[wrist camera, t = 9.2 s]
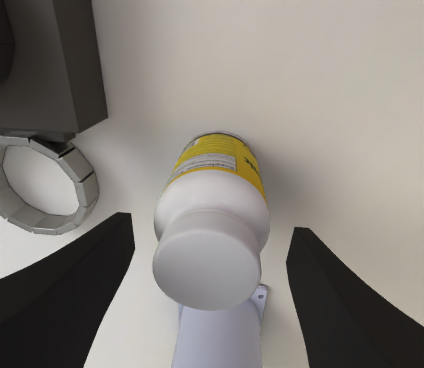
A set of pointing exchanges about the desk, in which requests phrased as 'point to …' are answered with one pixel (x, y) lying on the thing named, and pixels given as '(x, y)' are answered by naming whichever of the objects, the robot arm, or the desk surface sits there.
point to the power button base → (49, 66)
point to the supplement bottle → (211, 224)
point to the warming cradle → (68, 160)
